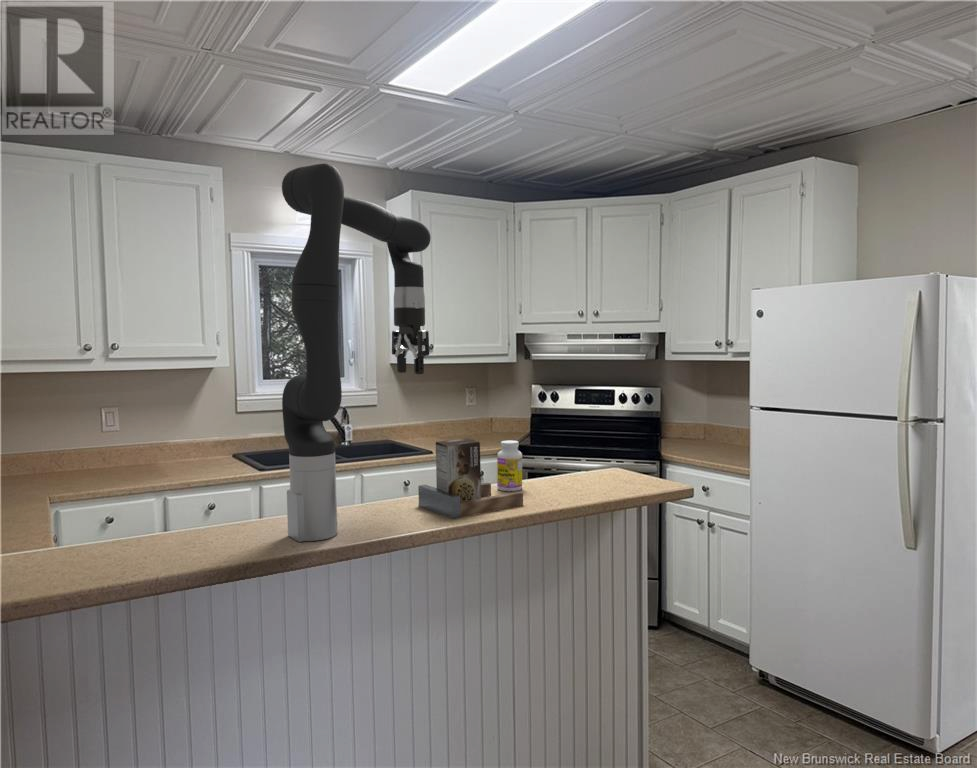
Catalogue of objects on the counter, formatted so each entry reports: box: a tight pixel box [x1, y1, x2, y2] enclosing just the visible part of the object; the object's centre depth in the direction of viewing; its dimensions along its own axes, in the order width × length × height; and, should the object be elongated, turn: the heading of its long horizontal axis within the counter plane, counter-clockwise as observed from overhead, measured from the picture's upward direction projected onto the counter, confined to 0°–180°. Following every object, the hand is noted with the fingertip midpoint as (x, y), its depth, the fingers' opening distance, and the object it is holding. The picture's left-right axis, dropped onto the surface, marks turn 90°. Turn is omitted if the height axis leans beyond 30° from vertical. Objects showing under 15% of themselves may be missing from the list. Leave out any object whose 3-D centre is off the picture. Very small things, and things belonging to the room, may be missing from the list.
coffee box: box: [435, 437, 482, 502], centre depth 163 cm, size 9×6×16 cm
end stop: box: [417, 484, 462, 520], centre depth 160 cm, size 2×15×5 cm, turn 37°
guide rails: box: [460, 482, 524, 518], centre depth 166 cm, size 18×15×3 cm
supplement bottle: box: [496, 439, 523, 492], centre depth 183 cm, size 7×7×13 cm
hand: (410, 373), depth 167 cm, fingers open, 8 cm apart
